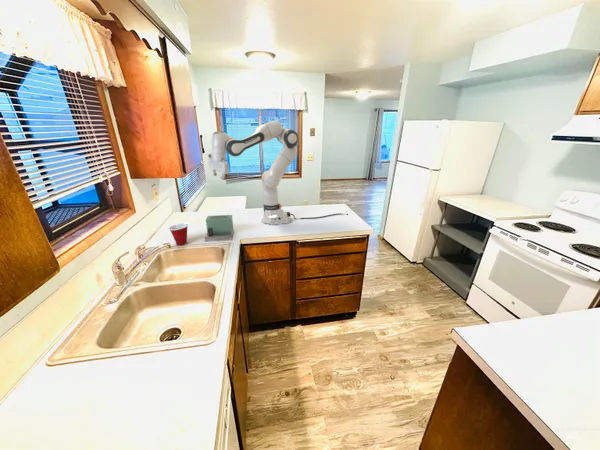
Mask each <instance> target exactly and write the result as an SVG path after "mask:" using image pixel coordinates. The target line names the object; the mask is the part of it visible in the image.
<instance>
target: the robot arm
mask: <svg viewBox="0 0 600 450" xmlns="http://www.w3.org/2000/svg"><path fill="white" fill-rule="evenodd" d="M274 139H277V141H279V143H280V144H283V146H282V149H281V150H280V152H279V153H278V155H277V156H276V157H275V159H274V160H273V161H272V164H271V166H270V167H269V170H265V171H264V172H262V174H261V184H262V195H263V203H262V205H263V206H262V210H263V217H262V222H263V223H264V224H268V225H271V226H273V225H281V224H282V225H283V224H289V223H291V221H292V219H291V218H290V217H291V216H293V219H295V220H297V218H296V216H295V214H293V213H291V212H290V211H286V210H284V209H283V208H282V207H283V206H282V204H280V203H279V193H278V188H277V187H278V186H279V185H280V182H281V180H282V179H283V176H284V175H285V173H286V171H287V170H288V168H289V167H290V165H291V164H292V162H293V161H294V160H295V158H296V156H297V154H298V148H297V146H298V141H299V135H298V133H297V132H296V131H295V130H294V129H291V128H286V127H285V128H284V127H283V124H282V123H281V122H280V121H279V120H273V121H268V122H265V123H263V124H261V125H259V126H257V127H256V128H255V129H254V132H253V134H250V135H249V136H247V137H244V138H242V139H236V138H235V137H233V136H230V135H229V134H227V133H226V132H225V131H222V130H221V131H219V130H218V131H214V132H213V133H212V135H211V148H212V149H211V153H208V154H207V156H208V167H209V168H210V169H211V170H212V175H213V176H214V177H217V176H218V173H221V176H220V180H225V177H226V175H229V174H230V165H229V162H228V161H227V153H228V154H229V155H230V156H231V157H239V156H241V155H242V154H243V153H244V152H245V151H246V150H248V149H250V148H252V147H254V146H256V145H258V144H261V143H266V142H269V141H271V140H274ZM217 172H218V173H217ZM341 213H342V212H341ZM341 213H339V212H338V213H332V214H327V215H322V216H316V217H300V218H299V220H304V219H306V220H307V219H310V220H311V219H320V218H326V217H331V216H336V215H342V214H341ZM346 215H347V216H349V214H348V213H347V214H346Z"/></svg>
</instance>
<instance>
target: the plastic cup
mask: <svg viewBox="0 0 600 450" xmlns="http://www.w3.org/2000/svg"><path fill="white" fill-rule="evenodd" d="M188 226H189V224H188V223H177V224H173V225H171V226H169V227H168V230H169V231H170V232H171V235H172V237H173V240H174V241H175V244H176V246H178V247H179V246H185V245H186V244H187V243H188Z"/></svg>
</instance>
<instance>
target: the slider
mask: <svg viewBox="0 0 600 450" xmlns="http://www.w3.org/2000/svg"><path fill="white" fill-rule="evenodd" d="M208 235H213V228H208Z"/></svg>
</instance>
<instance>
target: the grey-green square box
mask: <svg viewBox="0 0 600 450" xmlns="http://www.w3.org/2000/svg"><path fill="white" fill-rule="evenodd" d="M205 225H206V232H207V233H206V234H205V236H204V240H205V242H215V241H216V242H218V241H231V240H232V238H233V234H234V221H233V214H221V215H219V214H218V215H207V217H206V219H205ZM208 228H213V235H208Z"/></svg>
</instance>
